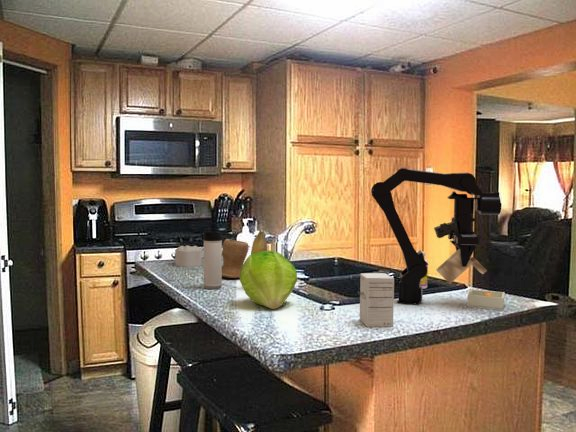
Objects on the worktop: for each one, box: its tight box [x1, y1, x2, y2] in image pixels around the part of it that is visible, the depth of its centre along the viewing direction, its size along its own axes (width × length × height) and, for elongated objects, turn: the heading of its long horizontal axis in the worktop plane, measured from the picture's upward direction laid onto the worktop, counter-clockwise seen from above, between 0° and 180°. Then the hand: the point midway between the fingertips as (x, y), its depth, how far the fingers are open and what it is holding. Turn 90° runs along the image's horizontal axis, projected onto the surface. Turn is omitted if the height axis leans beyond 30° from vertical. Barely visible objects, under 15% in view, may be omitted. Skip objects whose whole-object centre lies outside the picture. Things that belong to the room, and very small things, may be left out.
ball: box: [483, 293, 494, 297], centre depth 161 cm, size 3×3×3 cm
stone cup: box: [222, 238, 249, 279], centre depth 207 cm, size 15×12×15 cm
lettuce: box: [239, 250, 298, 310], centre depth 158 cm, size 17×20×16 cm
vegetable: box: [250, 231, 268, 255], centre depth 183 cm, size 6×6×20 cm
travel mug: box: [203, 231, 223, 290], centre depth 184 cm, size 6×7×20 cm
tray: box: [466, 289, 506, 311], centre depth 160 cm, size 10×10×4 cm
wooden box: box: [435, 249, 488, 285], centre depth 161 cm, size 9×5×11 cm
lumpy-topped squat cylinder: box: [174, 244, 203, 268], centre depth 239 cm, size 10×13×9 cm
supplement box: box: [359, 272, 395, 328], centre depth 137 cm, size 7×7×13 cm
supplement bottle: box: [416, 250, 429, 290], centre depth 188 cm, size 7×7×13 cm
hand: (462, 265), depth 161 cm, fingers closed on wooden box, 5 cm apart
